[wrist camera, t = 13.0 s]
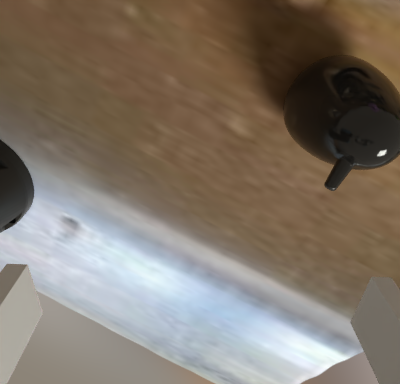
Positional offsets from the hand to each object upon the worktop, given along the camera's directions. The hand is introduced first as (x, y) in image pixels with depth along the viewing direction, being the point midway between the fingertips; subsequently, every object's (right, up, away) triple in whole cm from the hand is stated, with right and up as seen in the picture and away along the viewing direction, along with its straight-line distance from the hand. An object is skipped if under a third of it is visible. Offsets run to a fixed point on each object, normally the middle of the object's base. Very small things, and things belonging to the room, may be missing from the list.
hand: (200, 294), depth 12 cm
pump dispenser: (+14, +15, +24) cm, 32 cm away
